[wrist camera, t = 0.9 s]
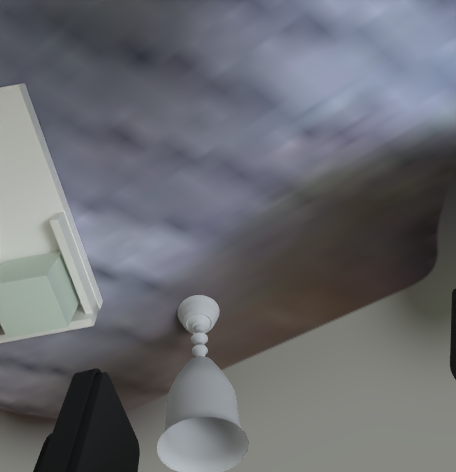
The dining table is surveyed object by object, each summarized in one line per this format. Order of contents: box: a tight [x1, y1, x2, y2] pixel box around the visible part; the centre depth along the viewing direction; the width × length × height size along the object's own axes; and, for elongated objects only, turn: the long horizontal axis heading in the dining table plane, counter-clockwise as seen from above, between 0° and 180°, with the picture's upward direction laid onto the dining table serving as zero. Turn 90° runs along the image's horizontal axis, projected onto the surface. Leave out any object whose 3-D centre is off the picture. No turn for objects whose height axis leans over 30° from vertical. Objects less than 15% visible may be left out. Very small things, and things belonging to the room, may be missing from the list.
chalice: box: [157, 295, 249, 472], centre depth 39 cm, size 7×7×18 cm
